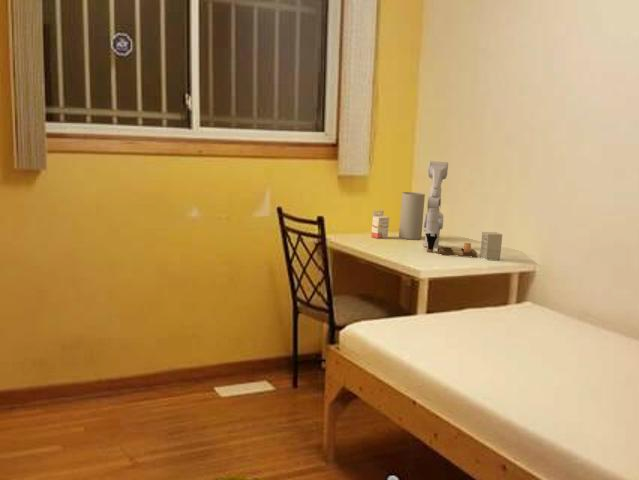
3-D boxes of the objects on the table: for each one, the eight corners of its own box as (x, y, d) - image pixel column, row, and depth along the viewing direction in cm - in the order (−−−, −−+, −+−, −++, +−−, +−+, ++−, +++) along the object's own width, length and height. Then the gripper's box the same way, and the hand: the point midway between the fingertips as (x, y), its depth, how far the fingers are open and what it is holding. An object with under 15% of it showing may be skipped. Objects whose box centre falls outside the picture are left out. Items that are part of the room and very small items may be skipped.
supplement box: (493, 257, 330) (496, 231, 328) (500, 260, 323) (502, 234, 321) (479, 257, 329) (481, 231, 327) (485, 260, 321) (488, 233, 319)
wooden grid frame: (437, 250, 340) (437, 246, 340) (473, 253, 339) (473, 249, 339) (439, 254, 328) (439, 250, 328) (476, 257, 327) (477, 253, 327)
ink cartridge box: (377, 238, 368) (379, 212, 366) (370, 237, 372) (372, 210, 370) (388, 237, 374) (390, 211, 372) (381, 236, 378) (383, 210, 375)
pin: (462, 254, 332) (464, 242, 331) (469, 255, 332) (470, 243, 331) (463, 256, 329) (464, 243, 328) (470, 256, 329) (471, 244, 328)
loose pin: (426, 251, 337) (427, 239, 336) (433, 251, 337) (434, 239, 336) (427, 252, 334) (428, 240, 333) (433, 252, 334) (434, 240, 333)
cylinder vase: (417, 236, 385) (421, 192, 381) (424, 240, 372) (427, 195, 368) (396, 235, 383) (399, 191, 379) (402, 239, 371) (405, 194, 367)
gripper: (423, 219, 341) (421, 245, 343) (425, 222, 326) (423, 250, 329) (437, 220, 340) (435, 246, 342) (440, 223, 326) (437, 251, 328)
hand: (430, 248), depth 335 cm, fingers closed on loose pin, 3 cm apart
